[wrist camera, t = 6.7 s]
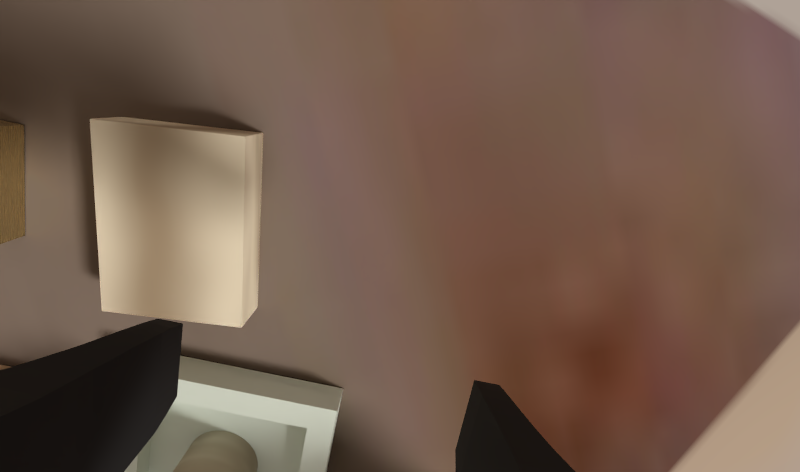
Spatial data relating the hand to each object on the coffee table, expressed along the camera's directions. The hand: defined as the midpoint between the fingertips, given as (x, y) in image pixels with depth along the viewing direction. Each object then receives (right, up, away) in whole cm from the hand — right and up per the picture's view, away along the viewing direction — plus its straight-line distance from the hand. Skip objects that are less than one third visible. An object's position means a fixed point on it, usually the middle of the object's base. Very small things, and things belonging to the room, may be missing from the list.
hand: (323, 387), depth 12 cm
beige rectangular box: (-7, +5, +10) cm, 13 cm away
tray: (-7, -7, +13) cm, 17 cm away
